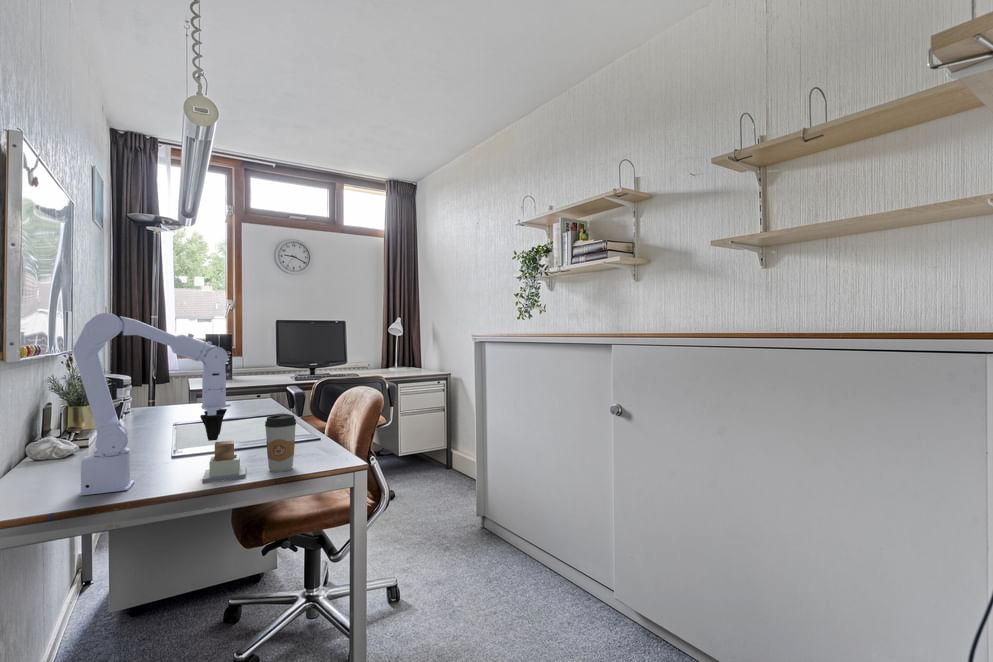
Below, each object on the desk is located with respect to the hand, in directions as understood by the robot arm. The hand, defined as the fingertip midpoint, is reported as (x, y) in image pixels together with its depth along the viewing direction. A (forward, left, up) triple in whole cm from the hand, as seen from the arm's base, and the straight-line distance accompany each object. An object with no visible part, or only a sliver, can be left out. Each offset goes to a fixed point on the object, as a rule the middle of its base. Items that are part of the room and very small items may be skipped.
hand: (214, 437), depth 138 cm
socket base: (+3, -4, -10) cm, 11 cm away
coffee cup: (+17, -4, -10) cm, 20 cm away
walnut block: (+3, -4, -6) cm, 8 cm away
